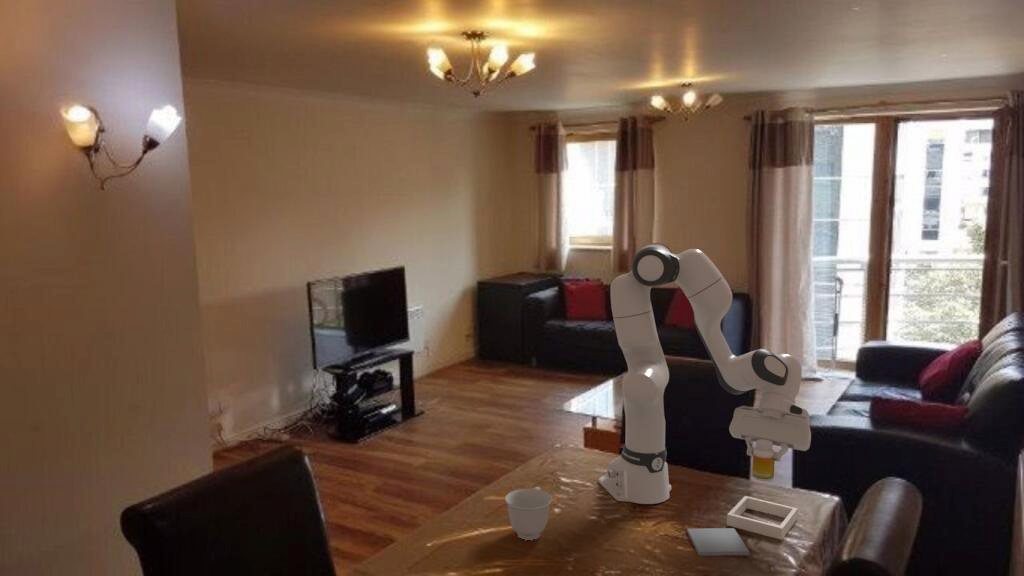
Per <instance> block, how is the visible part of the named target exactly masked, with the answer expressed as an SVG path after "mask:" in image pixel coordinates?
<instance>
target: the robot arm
mask: <svg viewBox="0 0 1024 576" xmlns="http://www.w3.org/2000/svg"><path fill="white" fill-rule="evenodd" d="M631 261H632V262H631V270H630V271H629V272H628V273H627V272H626V273H624V274H621V275H618V276H617V277H615V278H614V279H613V280H612V282H611V284H610V287H609V288H610V305H611V306H610V307H611V312H612V318H613V323H614V327H615V333H616V338H617V342H618V343H617V344H618V346H619V347H620V349H621V351H622V353H623V356H624V359H625V361H626V364H627V372H626V374H625V375H624V377H623V379H622V387H621V391H622V397H623V409H624V416H625V439H624V440H625V443H621V444H620V447H619V449H622V451H621V455H619V456H618V457H615V458H614V459H613V460H611V461H609V463H608V464H607V467H606V474H603V475H602V476H600V477H599V478H598V483H599V484H600V485H601V486H602V487H603V488H604V489H605V490H606V491H607V492H608V493H609V494H610V495H611V497H613V498H614V499H615V500H616V501H618V502H630V503H635V504H640V505H655V504H660V503H663V502H665V501H667V500H669V499H670V497H671V496H670V491H671V490H672V485H671V483H670V482H669V481H670V480H669V468H668V463H667V462H666V461H667V455H668V454H667V453H668V452H667V447H666V419H665V407H664V406H665V405H664V395H665V394H664V393H665V390H666V387H667V385H668V383H669V380H670V371H669V367H668V364H667V361H666V357H665V354H664V351H663V348H662V345H661V342H660V339H659V334H658V331H657V326H656V321H655V316H654V315H655V314H654V311H653V306H652V300H651V289H652V288H653V287H654V288H655V287H659V286H663V285H667V284H671V283H675V284H676V285H678V287H679V288H680V289H681V290H682V293H683V294H684V295H685V297H686V299H687V300H688V301H689V303H690V305H691V309H692V311H693V322H694V326H695V329H696V331H697V333H698V335H699V337H700V340H701V343H702V344H703V346H704V348H705V350H706V351H707V354H708V357H709V358H710V360H711V363H712V364H713V367H714V369H715V373H716V377H717V379H718V382H719V384H720V386H721V387H722V388H723V389H724V390H725V391H726V392H727V393H729V394H732V395H736V396H738V395H742V394H744V393H746V392H748V391H752V390H754V389H759V390H761V392H762V393H761V396H760V400H759V401H758V406H757V407H755V406H747V405H741V406H738V407H735V409H734V411H733V417H732V420H731V422H730V424H729V426H728V427H729V428H728V430H729V433H730V435H731V436H732V437H733V438H735V439H740V440H744V441H745V443H746V446H747V449H746V454H747V456H749V457H753V450H754V449H755V447H752V445H753V442H754V443H756V441H757V440H759V439H765V440H769V441H771V442H772V443H773V444H772V446H777V447H780V448H781V449H779V450H778V451H774V456H773V459H774V461H775V462H781V460H782V457H783V456H784V455H785V454H787V452H788V451H789V449H791V450H796V451H802V452H806V451H808V450H809V449H810V447H811V441H812V431H811V428H810V425H811V417H810V415H809V412H808V410H807V409H806V408H803V407H801V406H799V405H797V404H796V398H797V396H798V394H799V391H800V388H801V383H802V375H803V369H802V365H801V362H800V361H799V359H797V358H796V357H794V356H793V355H791V354H787V353H778V354H777V353H773V352H772V351H770V350H768V349H766V348H759V349H755V350H752V351H749V352H747V353H744V354H741V355H738V356H737V355H735V354H734V353H732V351H731V349H730V347H729V344H728V343H727V340H726V338H725V336H724V334H723V332H722V330H721V323H722V320H723V318H724V317H725V316H726V315H727V313H728V312H729V310H730V308H731V306H732V302H733V292H732V289H731V287H730V285H729V283H728V282H727V281H726V279H725V277H724V276H723V275H722V273H721V271H720V269H719V268H718V267H717V266H716V265H715V264H714V263H713V261H712V259H710V258H709V257H708V255H706V253H705V252H703V251H702V250H700V249H697V248H689V249H686V250H684V251H682V252H680V253H677V254H676V253H673V252H672V250H671V249H670V248H669V247H668V246H666V245H665V244H662V243H658V242H654V243H653V242H652V243H649V244H646V245H644V246H642V247H641V248H640V249H638V251H637V252H636V253H635V255H634V257H633V259H632V260H631Z"/></svg>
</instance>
